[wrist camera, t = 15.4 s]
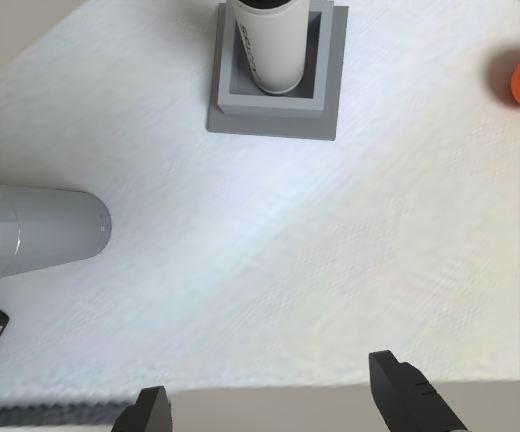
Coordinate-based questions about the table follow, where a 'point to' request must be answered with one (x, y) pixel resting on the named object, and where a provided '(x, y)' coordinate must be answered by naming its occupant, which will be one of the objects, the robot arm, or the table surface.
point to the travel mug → (274, 41)
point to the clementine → (516, 83)
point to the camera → (3, 322)
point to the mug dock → (285, 107)
